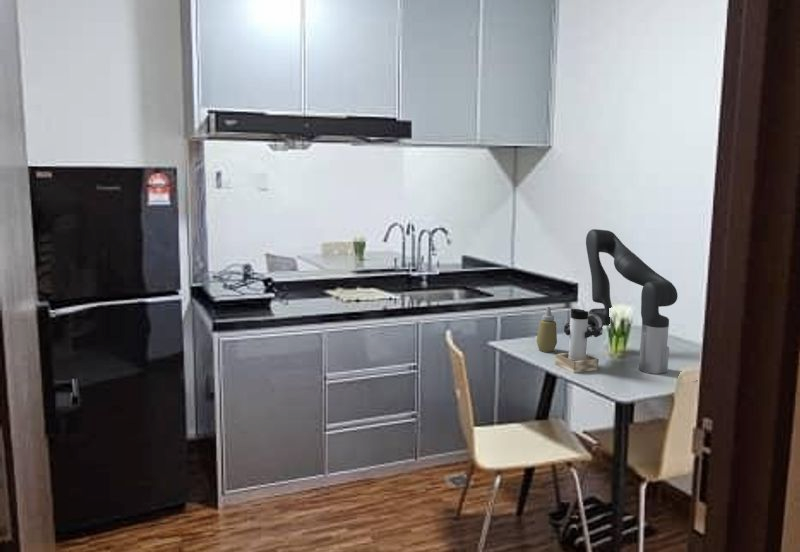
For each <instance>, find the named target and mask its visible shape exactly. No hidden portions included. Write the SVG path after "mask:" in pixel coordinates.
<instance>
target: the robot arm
mask: <svg viewBox="0 0 800 552" xmlns="http://www.w3.org/2000/svg"><path fill="white" fill-rule="evenodd" d="M585 246H586V248H585V249H586V253H587V259H588V264H589V270H590V277H591V298H592V301H593V302H594V303H598V304H602V305H603V306H604V307H603V308H601V307H600V308H591V309H590V310H589V311H588V328H587V331H586V332H585V338H587V339H588V338H592V337H594V338H597V337H600V336H602V335H603V331H604V330H603V329H604V328H603V327H605V326H610V325H609V324H610V317H609V308H611V307H612V308H613V304H612V302H611V285H610V279H609V277H608V274H607V272H606V271H605V269H604V267H603V264H602V262H601V258H600V253H605V254H608V255H609V256H611V257H612V258H613V259H614V260H613V265H614V268H615V270H616V271H617V272H618V273H619V275H621V276H622V277H623V278H625V280H628V281H629V282H631V283H634V284H636V285H639V286H642V289H641V297H640V316H641V330H640V331H641V333H640V347H639V355H638V356H639V359H638V370H639V371H641V372H643V373H648V374H654V375H655V374H657V375H659V374H664V373H668V368H669V355H670V347H669V346H668V338H669V330H670V328H669V327H670V318H669V317H667V316H665V315H663V314H660V308H659V307H669V306H673V305H674V304H675V303H676V302H677V300H678V290H677V288H676V286H675V285H674V284H673V283H672V282H671V281H670V280H668V279H667V278H665V277H663V276H662V275H660V274H659V273H657V272H656V271H655V270H654V269H652V268H651V266H649V265H647V264H646V263H645V262H644V261H643V260H642V259H641V258H640V257H639V256H637V255H636V254H635V253H634V252H633V251H632V250H630V249H629V248H628V247H627V246H626V245H625V244H624V243H623V241H621V240H620V238H618V236H617V235H616V234H615V233H614V231H613V232H612V231H611V230H605V229H595V228H594V229H590V230H589V231H588V232H587V234H586V238H585ZM563 333H564V334H565V335H566V336H570V322H567V323H565V324H564V327H563Z"/></svg>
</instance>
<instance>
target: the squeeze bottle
mask: <svg viewBox="0 0 800 552" xmlns="http://www.w3.org/2000/svg"><path fill="white" fill-rule="evenodd" d="M545 310H546V311H545V313H544V314H543V315H542V316H541V320H540V321H539V324H538V330H537V335H536V345H537V348H538V350H539V351H540V352H544V353H552V352H554V351H555V349H556V346H557V343H558V341H557V340H558V338H557V337H558V336H557V331H558V330H557V322H556V321H555V316H554V315H553V314H552V309H551V306H547V307H546V309H545Z"/></svg>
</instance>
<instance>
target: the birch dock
mask: <svg viewBox="0 0 800 552" xmlns="http://www.w3.org/2000/svg"><path fill="white" fill-rule="evenodd" d="M568 357H569V352H565V353H557V354H555V361H554V362H555V363H554V365H555V366H557V367H560V368H561V369H564V370H566V371H569V372H571V373H573V374H577V373H582V372H591V371H599V358H597V357H594V356H592V355H589V354H587V353H586V360H583V361H572V360H570V359H568Z"/></svg>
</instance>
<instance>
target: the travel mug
mask: <svg viewBox="0 0 800 552" xmlns="http://www.w3.org/2000/svg"><path fill="white" fill-rule="evenodd" d="M588 313H589V311H586V310H585V309H580V308H571V309H570V320H569V321H570V322H569V323H570V335H569V340H568V341H569V342H568V353H569V357H568V359H570V360H572V361H583V360H586V354H587V342H588V338H585V332H586V331H587V328H588Z"/></svg>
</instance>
